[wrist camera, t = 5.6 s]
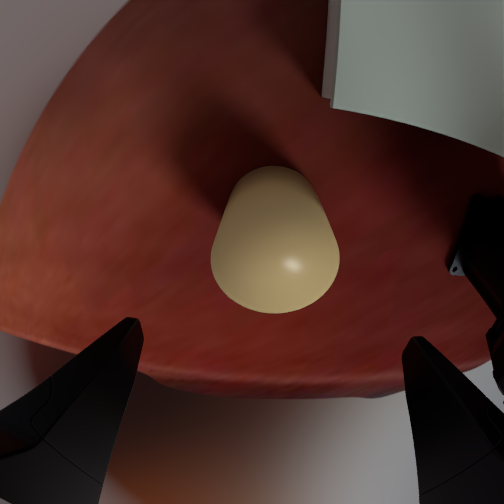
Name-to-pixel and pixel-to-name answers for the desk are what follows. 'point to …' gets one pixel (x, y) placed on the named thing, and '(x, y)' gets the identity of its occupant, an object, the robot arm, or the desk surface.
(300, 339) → the desk surface
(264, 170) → the beige rounded cylinder
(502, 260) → the robot arm
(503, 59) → the box lid
